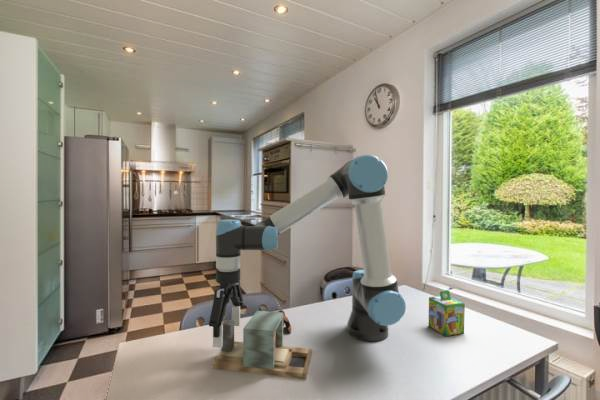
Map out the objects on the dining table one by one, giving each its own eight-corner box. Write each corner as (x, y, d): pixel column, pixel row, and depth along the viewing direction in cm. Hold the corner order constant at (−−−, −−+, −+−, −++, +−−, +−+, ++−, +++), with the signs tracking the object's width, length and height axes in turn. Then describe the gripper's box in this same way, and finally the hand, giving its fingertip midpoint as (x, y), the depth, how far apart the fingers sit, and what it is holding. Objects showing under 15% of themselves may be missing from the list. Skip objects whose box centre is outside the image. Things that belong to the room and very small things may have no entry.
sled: (288, 351, 90) (288, 322, 89) (283, 364, 83) (284, 332, 83) (227, 345, 93) (228, 317, 93) (218, 357, 86) (218, 326, 86)
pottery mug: (292, 339, 101) (281, 321, 100) (269, 348, 103) (258, 331, 101) (295, 317, 113) (285, 300, 111) (274, 325, 115) (264, 309, 113)
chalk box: (445, 337, 103) (446, 297, 102) (427, 326, 112) (427, 288, 111) (465, 333, 106) (466, 294, 105) (445, 322, 114) (446, 286, 114)
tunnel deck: (311, 353, 91) (312, 314, 91) (305, 379, 79) (306, 334, 78) (230, 345, 96) (230, 308, 96) (212, 368, 83) (212, 325, 83)
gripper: (232, 259, 102) (232, 317, 102) (196, 279, 77) (195, 356, 77) (252, 260, 100) (251, 319, 101) (222, 281, 76) (221, 359, 76)
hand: (227, 335), depth 89 cm, fingers open, 13 cm apart
